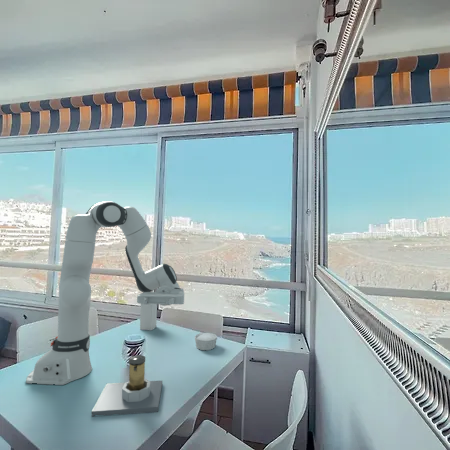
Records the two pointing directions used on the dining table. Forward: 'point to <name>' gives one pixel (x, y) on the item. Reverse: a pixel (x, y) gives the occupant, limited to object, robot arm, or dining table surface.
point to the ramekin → (205, 341)
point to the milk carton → (148, 316)
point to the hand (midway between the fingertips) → (156, 302)
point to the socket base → (123, 406)
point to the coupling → (136, 372)
